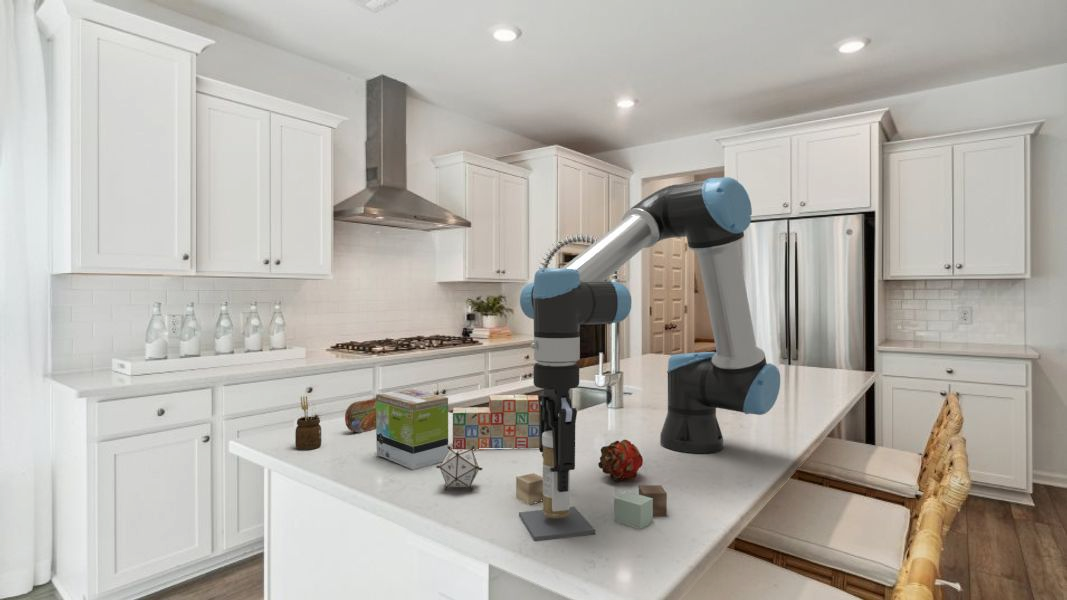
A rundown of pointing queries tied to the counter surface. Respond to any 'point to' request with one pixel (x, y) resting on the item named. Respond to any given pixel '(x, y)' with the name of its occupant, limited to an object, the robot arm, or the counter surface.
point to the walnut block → (655, 498)
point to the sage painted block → (633, 510)
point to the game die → (459, 468)
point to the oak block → (529, 488)
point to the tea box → (412, 427)
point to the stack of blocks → (498, 423)
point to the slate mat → (555, 525)
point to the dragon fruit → (620, 460)
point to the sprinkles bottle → (549, 477)
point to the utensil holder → (307, 430)
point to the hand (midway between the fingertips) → (556, 503)
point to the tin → (361, 416)
